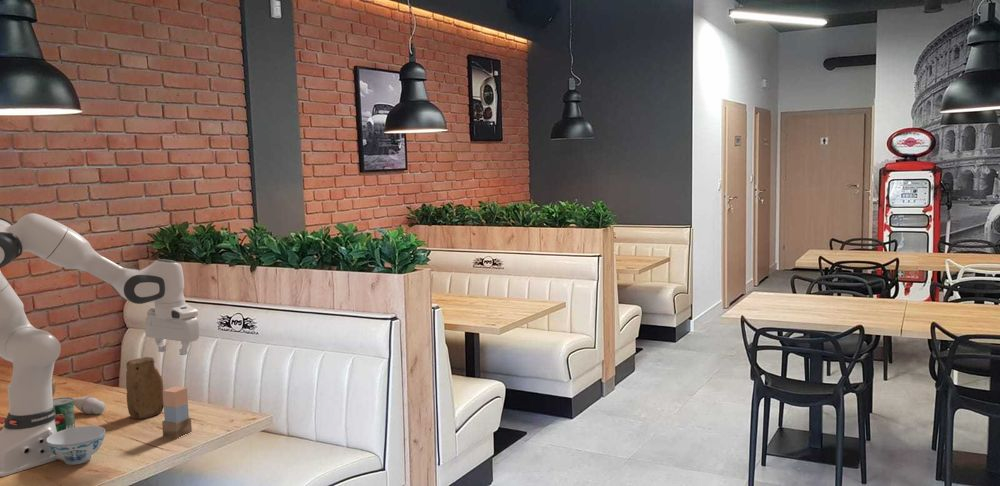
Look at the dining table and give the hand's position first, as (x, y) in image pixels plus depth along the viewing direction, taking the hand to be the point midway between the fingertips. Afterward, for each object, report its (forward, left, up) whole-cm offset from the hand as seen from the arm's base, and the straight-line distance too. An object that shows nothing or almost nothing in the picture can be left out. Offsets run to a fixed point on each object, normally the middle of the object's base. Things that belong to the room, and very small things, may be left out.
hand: (172, 353), depth 235 cm
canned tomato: (-15, +35, -27) cm, 47 cm away
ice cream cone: (+2, +47, -27) cm, 54 cm away
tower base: (0, 0, -27) cm, 27 cm away
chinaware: (-27, +10, -27) cm, 39 cm away
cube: (0, 0, -17) cm, 17 cm away
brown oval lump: (+9, +25, -27) cm, 38 cm away
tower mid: (0, 0, -22) cm, 22 cm away
